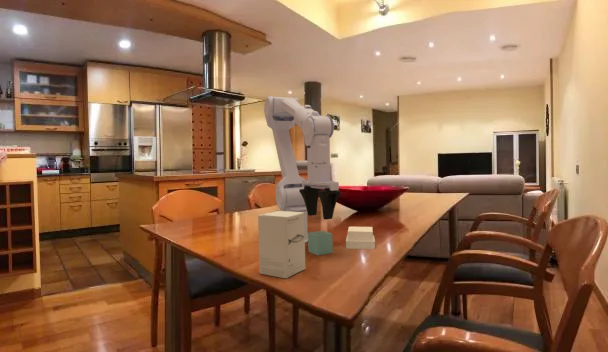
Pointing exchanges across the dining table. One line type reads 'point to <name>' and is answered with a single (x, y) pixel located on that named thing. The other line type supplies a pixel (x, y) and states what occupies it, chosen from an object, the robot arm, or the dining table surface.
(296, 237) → the supplement box
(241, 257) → the dining table surface
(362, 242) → the bottom slab
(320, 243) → the teal block
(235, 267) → the dining table surface
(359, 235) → the top slab
